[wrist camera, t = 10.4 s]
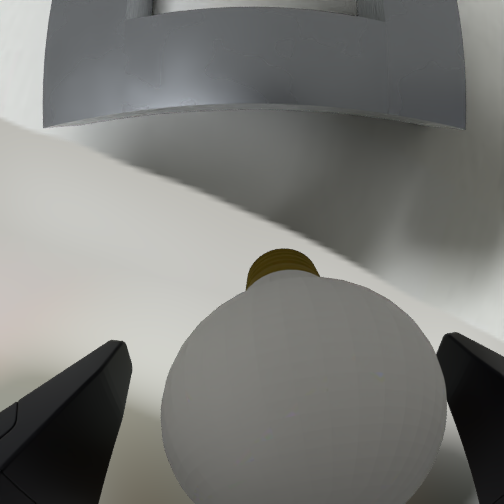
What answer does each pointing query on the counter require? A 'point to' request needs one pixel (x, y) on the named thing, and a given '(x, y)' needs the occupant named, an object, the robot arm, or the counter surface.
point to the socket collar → (254, 61)
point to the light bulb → (303, 395)
